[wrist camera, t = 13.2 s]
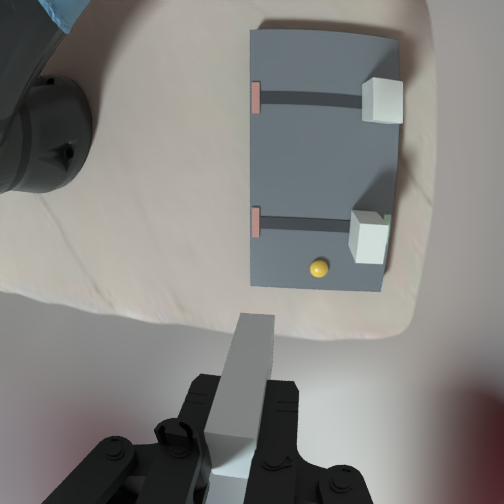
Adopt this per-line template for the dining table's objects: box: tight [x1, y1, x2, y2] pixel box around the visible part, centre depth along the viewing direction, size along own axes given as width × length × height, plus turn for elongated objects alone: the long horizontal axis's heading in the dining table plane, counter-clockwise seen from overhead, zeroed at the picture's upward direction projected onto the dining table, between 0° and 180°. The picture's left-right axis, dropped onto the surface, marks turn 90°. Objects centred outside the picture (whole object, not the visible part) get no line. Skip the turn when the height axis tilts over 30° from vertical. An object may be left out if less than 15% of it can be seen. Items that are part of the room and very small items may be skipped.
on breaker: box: [362, 77, 403, 124], centre depth 23 cm, size 4×2×4 cm
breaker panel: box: [250, 29, 399, 292], centre depth 29 cm, size 26×14×2 cm, turn 0°
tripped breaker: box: [348, 210, 388, 264], centre depth 28 cm, size 4×2×4 cm
